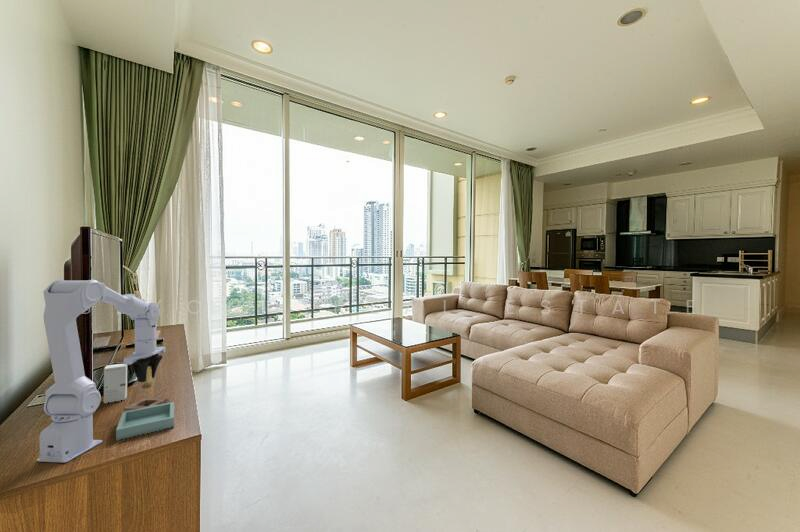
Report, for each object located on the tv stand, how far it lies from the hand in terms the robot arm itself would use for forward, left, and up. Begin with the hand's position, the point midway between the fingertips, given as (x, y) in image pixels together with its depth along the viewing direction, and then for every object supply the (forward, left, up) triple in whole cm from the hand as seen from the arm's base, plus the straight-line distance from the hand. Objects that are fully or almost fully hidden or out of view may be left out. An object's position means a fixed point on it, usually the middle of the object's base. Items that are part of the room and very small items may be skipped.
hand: (146, 379), depth 112 cm
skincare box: (+5, +16, -10) cm, 19 cm away
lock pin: (0, 0, -2) cm, 2 cm away
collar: (0, 0, -9) cm, 9 cm away
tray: (-11, -10, -9) cm, 17 cm away
